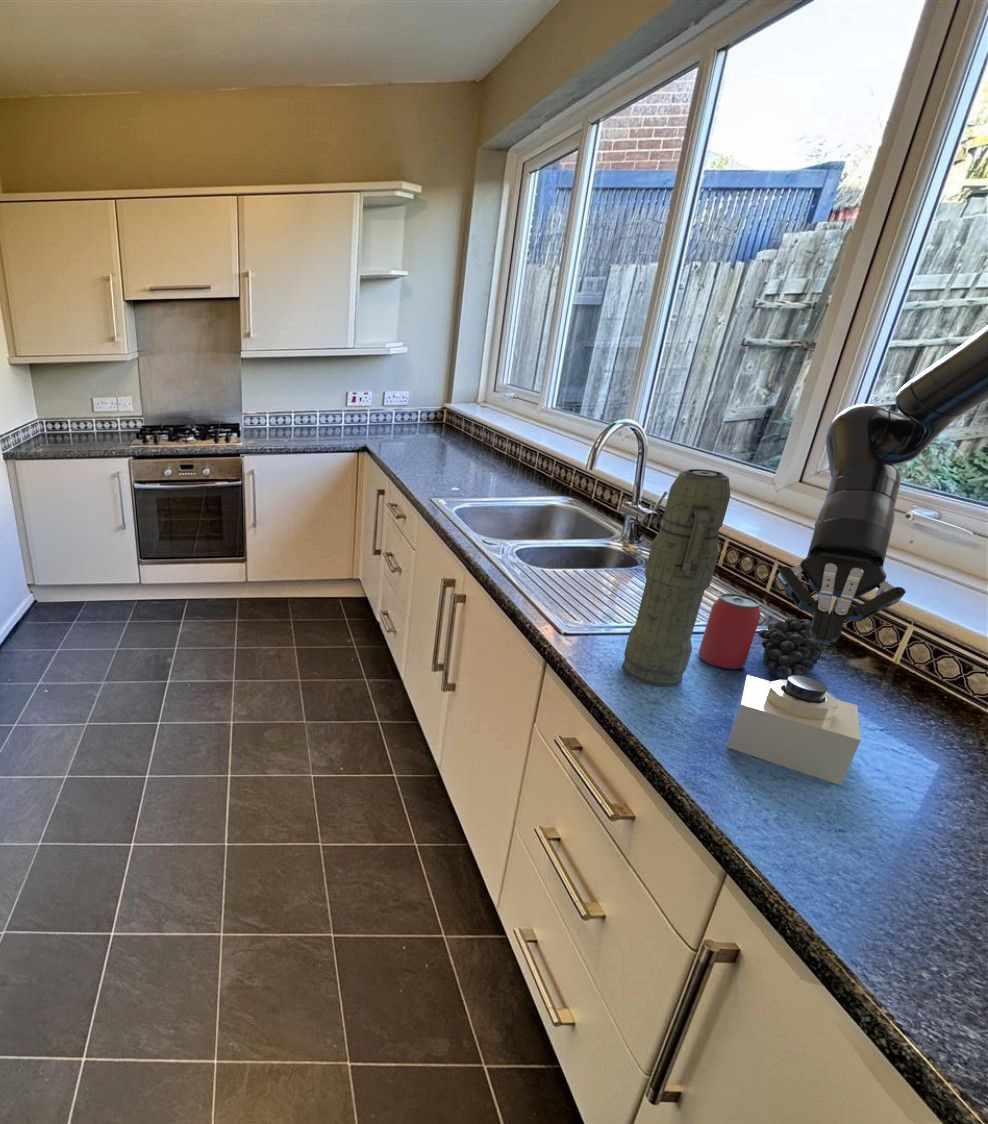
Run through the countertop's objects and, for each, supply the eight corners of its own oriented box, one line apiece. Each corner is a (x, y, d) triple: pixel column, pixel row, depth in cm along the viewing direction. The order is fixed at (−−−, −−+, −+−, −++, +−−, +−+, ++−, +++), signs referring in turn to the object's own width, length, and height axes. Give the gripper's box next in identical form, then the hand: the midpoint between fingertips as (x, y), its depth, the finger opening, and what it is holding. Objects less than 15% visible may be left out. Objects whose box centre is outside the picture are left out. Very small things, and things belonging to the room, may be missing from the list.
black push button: (821, 695, 84) (827, 682, 83) (822, 708, 81) (827, 694, 80) (783, 684, 86) (788, 671, 85) (782, 696, 83) (787, 684, 83)
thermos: (670, 660, 109) (724, 465, 96) (692, 696, 99) (756, 483, 86) (614, 652, 112) (659, 462, 99) (629, 686, 102) (682, 479, 89)
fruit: (813, 643, 96) (822, 611, 105) (745, 642, 102) (759, 611, 112) (819, 695, 97) (827, 658, 107) (752, 690, 103) (765, 655, 113)
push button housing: (839, 748, 86) (862, 693, 83) (841, 786, 80) (866, 728, 76) (733, 715, 94) (750, 664, 91) (726, 747, 87) (744, 693, 84)
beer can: (738, 656, 110) (757, 595, 106) (748, 674, 105) (769, 611, 100) (693, 649, 113) (711, 589, 108) (701, 666, 107) (720, 604, 103)
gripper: (794, 508, 86) (763, 616, 82) (930, 526, 78) (903, 647, 74) (784, 534, 92) (754, 637, 88) (910, 554, 84) (884, 668, 80)
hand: (822, 641), depth 81 cm, fingers closed
